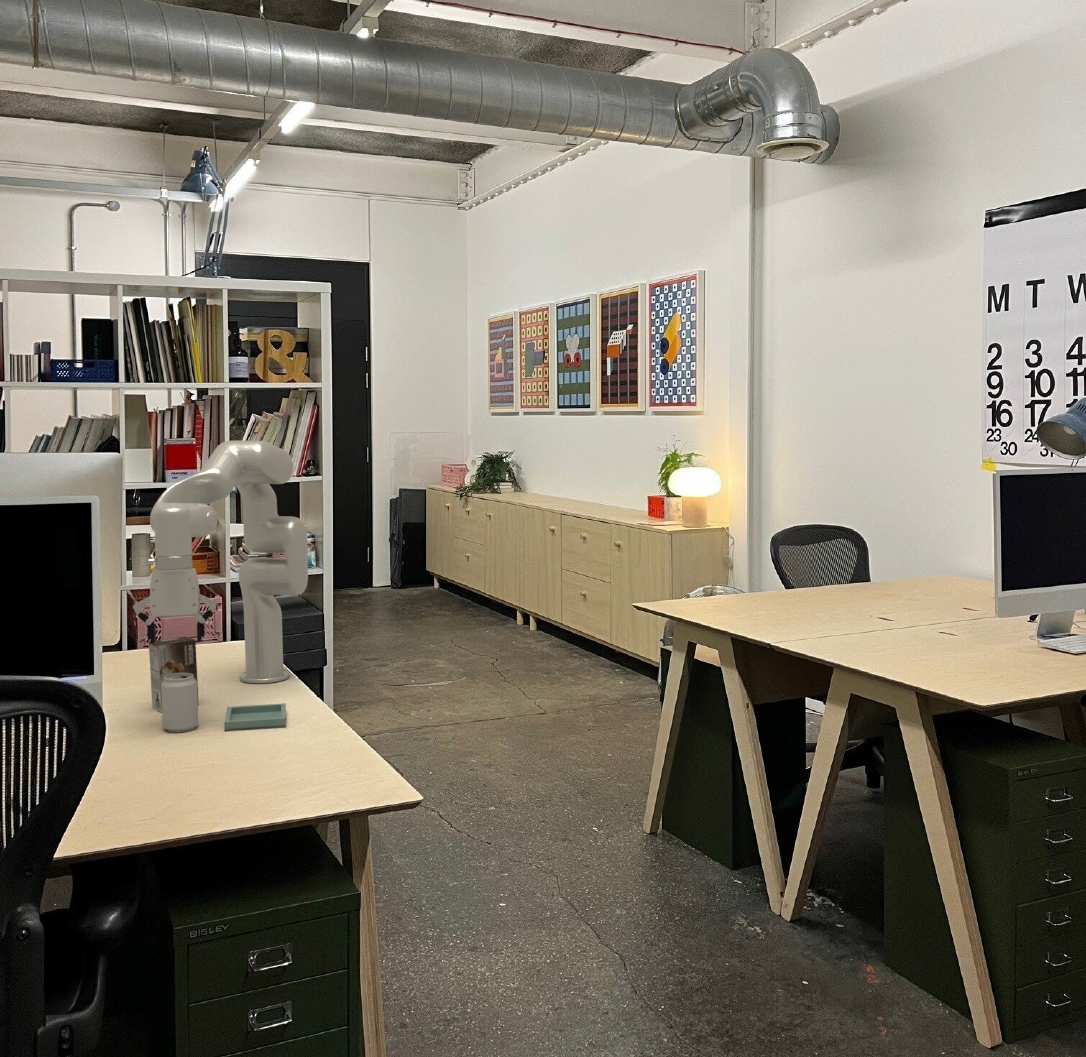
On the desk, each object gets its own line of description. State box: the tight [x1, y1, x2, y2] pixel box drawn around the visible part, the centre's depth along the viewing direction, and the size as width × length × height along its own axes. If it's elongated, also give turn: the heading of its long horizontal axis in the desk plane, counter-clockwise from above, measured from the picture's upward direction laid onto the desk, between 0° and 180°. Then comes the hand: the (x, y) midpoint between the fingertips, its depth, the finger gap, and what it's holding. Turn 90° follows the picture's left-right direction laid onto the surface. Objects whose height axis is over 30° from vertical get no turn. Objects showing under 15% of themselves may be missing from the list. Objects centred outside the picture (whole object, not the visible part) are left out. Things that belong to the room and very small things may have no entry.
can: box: [161, 673, 199, 733], centre depth 242 cm, size 8×8×12 cm
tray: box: [223, 703, 287, 732], centre depth 248 cm, size 13×13×2 cm
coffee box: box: [148, 635, 200, 713], centre depth 259 cm, size 9×6×16 cm
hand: (176, 641), depth 240 cm, fingers open, 9 cm apart
